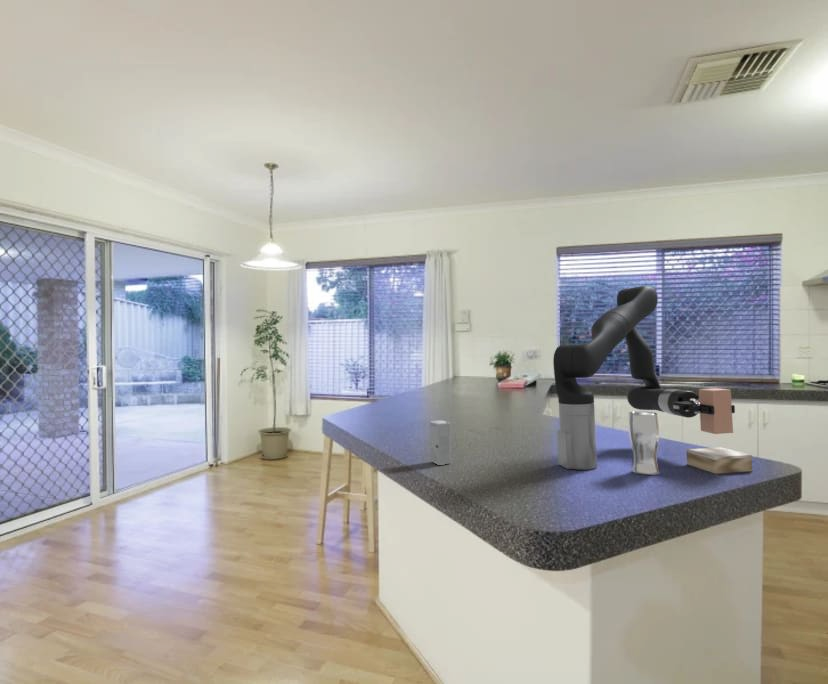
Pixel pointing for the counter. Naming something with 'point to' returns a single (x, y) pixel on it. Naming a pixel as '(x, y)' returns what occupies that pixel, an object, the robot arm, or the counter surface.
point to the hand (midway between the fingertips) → (723, 409)
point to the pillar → (716, 411)
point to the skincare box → (440, 441)
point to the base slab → (719, 460)
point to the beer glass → (644, 441)
